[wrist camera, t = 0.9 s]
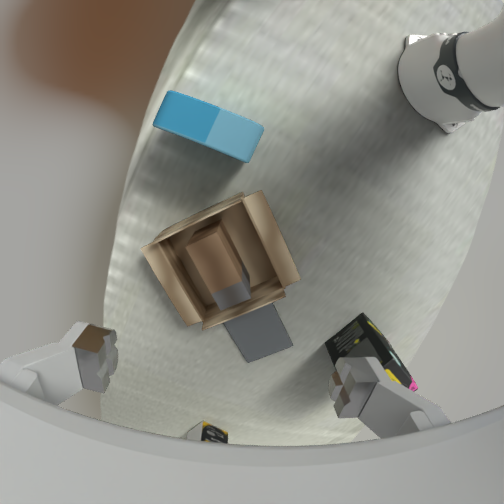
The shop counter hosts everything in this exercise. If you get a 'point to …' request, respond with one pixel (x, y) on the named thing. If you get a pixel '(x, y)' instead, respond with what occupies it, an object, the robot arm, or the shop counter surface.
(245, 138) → the blue rounded block
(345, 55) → the shop counter surface
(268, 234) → the carton
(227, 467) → the robot arm
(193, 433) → the medicine bottle
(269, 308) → the mat
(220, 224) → the walnut box
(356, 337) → the tampon box
